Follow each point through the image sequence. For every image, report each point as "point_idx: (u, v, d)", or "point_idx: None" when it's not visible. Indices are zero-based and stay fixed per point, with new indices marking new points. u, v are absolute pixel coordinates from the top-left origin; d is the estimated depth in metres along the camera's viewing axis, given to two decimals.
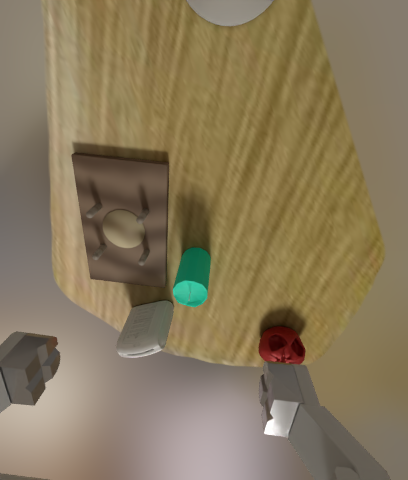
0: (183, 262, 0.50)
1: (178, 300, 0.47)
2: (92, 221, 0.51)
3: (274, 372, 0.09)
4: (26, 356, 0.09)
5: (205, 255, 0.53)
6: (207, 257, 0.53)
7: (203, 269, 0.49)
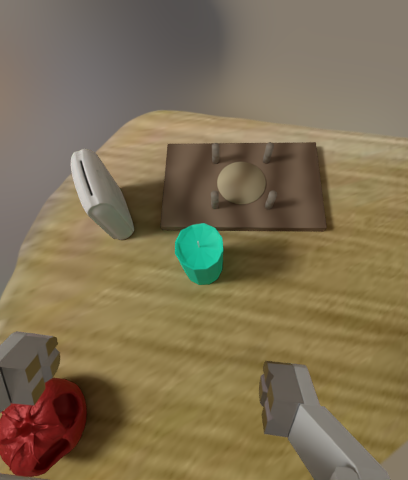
0: None
1: (184, 231, 0.34)
2: (246, 153, 0.47)
3: (274, 372, 0.09)
4: (26, 356, 0.09)
5: (218, 275, 0.40)
6: (215, 277, 0.40)
7: (218, 268, 0.36)
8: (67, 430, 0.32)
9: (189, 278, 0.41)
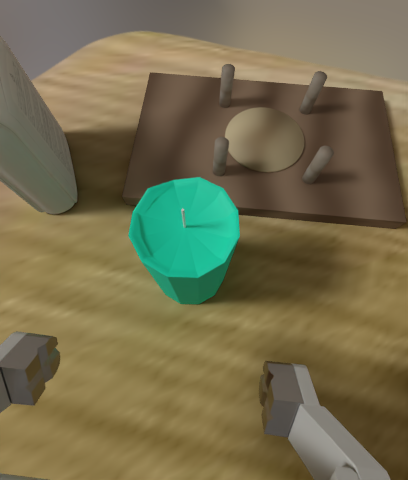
0: None
1: (155, 190, 0.15)
2: (273, 96, 0.30)
3: (274, 372, 0.09)
4: (26, 356, 0.09)
5: (216, 290, 0.22)
6: (211, 294, 0.22)
7: (220, 277, 0.18)
8: None
9: (163, 291, 0.22)
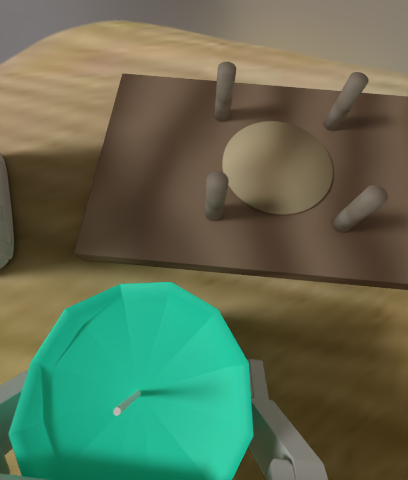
0: None
1: (81, 311, 0.08)
2: (287, 105, 0.22)
3: None
4: None
5: None
6: None
7: None
8: None
9: None
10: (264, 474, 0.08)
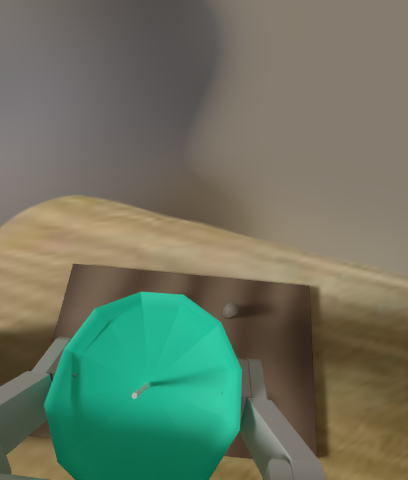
0: None
1: (107, 311, 0.09)
2: (197, 294, 0.29)
3: None
4: None
5: None
6: None
7: None
8: None
9: None
10: (262, 474, 0.08)
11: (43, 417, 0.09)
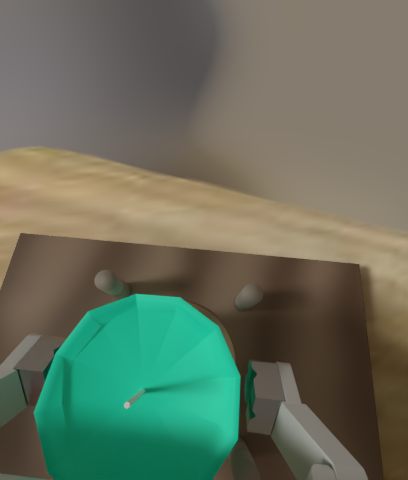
0: None
1: (101, 314, 0.09)
2: (197, 276, 0.20)
3: (258, 370, 0.10)
4: (43, 358, 0.09)
5: None
6: None
7: None
8: None
9: None
10: (298, 478, 0.08)
11: (11, 413, 0.09)
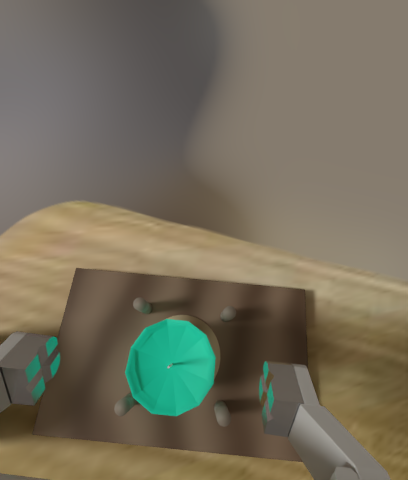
0: None
1: (151, 329, 0.19)
2: (196, 298, 0.30)
3: (274, 372, 0.09)
4: (26, 356, 0.09)
5: None
6: None
7: None
8: None
9: None
10: None
11: None
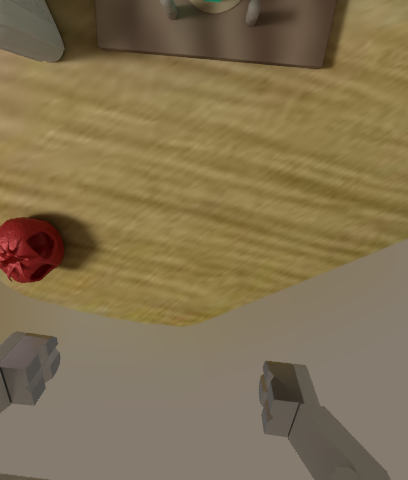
0: None
1: None
2: None
3: (274, 372, 0.09)
4: (26, 356, 0.09)
5: None
6: None
7: None
8: (47, 259, 0.40)
9: None
10: None
11: None
